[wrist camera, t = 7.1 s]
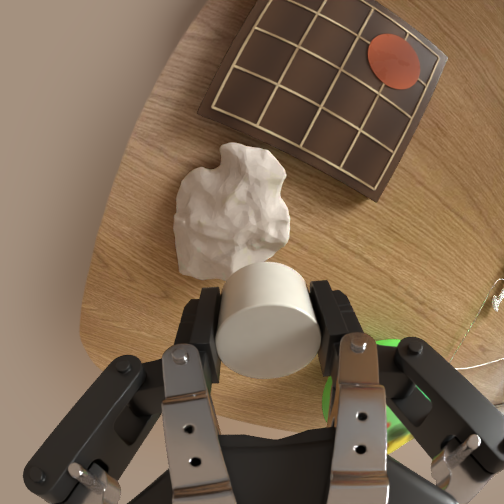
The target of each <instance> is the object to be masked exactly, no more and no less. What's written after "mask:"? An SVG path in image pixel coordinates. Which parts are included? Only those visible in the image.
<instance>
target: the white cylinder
mask: <svg viewBox="0 0 504 504" xmlns="http://www.w3.org/2000/svg"><path fill="white" fill-rule="evenodd" d="M321 339H322V335H321V330H320V326H319V323H318V320H317V316H316V313H315V310H314V306H313V303H312V300H311V296H310V293H309V290H308V287H307V284H306V282H305V281H304V279H303V278H302V277H301V275H300V274H299V273H297V272H296V271H295V270H293V269H292V268H290V267H288V266H286V265H283V264H280V263H276V262H257V263H253V264H249V265H247V266H244V267H242V268H240V269H239V270H237V271H236V272H234V273H233V274H232V275H231V276H230V277H229V278H228V279H227V281H226V282H225V284H224V286H223V288H222V291H221V296H220V303H219V311H218V318H217V325H216V333H215V343H216V348H217V353H218V356H219V358H220V360H221V361H222V362H223V363H224V364H225V365H226V366H227V367H228V368H230V369H231V370H233V371H234V372H236V373H238V374H241V375H244V376H247V377H251V378H257V379H272V378H279V377H284V376H287V375H290V374H293V373H295V372H297V371H299V370H301V369H302V368H304V367H305V366H306V365H308V364H309V363H310V362H311V361H312V360H313V359H314V357H315V356H316V354H317V353H318V351H319V348H320V346H321Z"/></svg>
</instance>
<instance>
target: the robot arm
mask: <svg viewBox="0 0 504 504" xmlns="http://www.w3.org/2000/svg"><path fill="white" fill-rule="evenodd" d="M220 296H221V295H220V289H219V287H209V288H202V290H201V294H200V298H199V299H191V300H190V301H189V302H188V303H187V305H186V306H185V307H184V310H183V314H182V317H181V323H180V324H179V328H178V331H177V335H176V339H175V342H174V345H173V346H171V347H169V348H168V349H167V350H166V351H165V352H164V354H163V356H162V358H161V359H159V360H155V361H151V362H146V363H141V361H140V360H139V358H137V357H135V356H133V355H123V356H120V357H118V358H116V359H114V360H113V361H112V362H111V363H110V364H109V365H108V367H107V368H106V369H105V370H104V371H103V372H102V373H101V375H100V376H99V377H98V378H97V380H96V381H95V382H94V383H93V384H92V385H91V386H90V388H89V389H88V390H87V391H86V392H85V393H84V395H83V396H82V397H81V398H80V399H79V400H78V402H77V403H76V404H75V405H74V407H73V408H72V409H71V410H70V411H69V412H68V414H67V415H66V416H65V417H64V418H63V420H62V421H61V422H60V423H59V425H58V426H57V427H56V428H55V429H54V431H53V432H52V433H51V434H50V436H49V437H48V438H47V439H46V441H45V442H44V443H43V445H42V446H41V447H40V448H39V449H38V451H37V452H36V453H35V454H34V456H33V457H32V458H31V460H30V461H29V462H28V463H27V465H26V466H25V468H24V472H23V478H24V483H25V485H26V487H27V488H28V489H29V490H30V491H31V492H33V493H34V494H36V495H37V496H39V497H41V498H42V499H44V500H45V501H46V502H48V503H50V504H118V501H119V500H120V495H121V487H120V485H119V483H118V480H119V478H120V477H121V475H122V474H123V472H124V471H125V469H126V468H127V466H128V464H129V463H130V461H131V460H132V458H133V457H134V455H135V454H136V452H137V451H138V449H139V448H140V446H141V445H142V443H143V441H144V440H145V438H146V437H147V435H148V434H149V432H150V431H151V429H152V428H153V426H154V424H155V423H156V421H157V420H158V418H159V417H160V415H161V413H162V416H163V427H164V435H165V443H166V451H167V458H168V464H169V469H168V470H166V471H165V472H164V473H163V474H162V475H161V476H160V477H159V478H157V479H156V480H155V481H154V482H153V483H152V484H151V485H149V486H148V487H147V488H146V489H145V490H143V491H142V492H141V493H140V494H138V495H137V496H136V497H135V498H134V499H132V500H131V501H130V502H129V503H127V504H467V503H469V502H470V501H471V500H472V499H473V497H475V495H476V494H477V493H478V492H479V491H480V490H481V489H482V488H483V487H484V486H485V485H486V484H487V483H488V481H489V480H490V479H491V478H492V477H494V476H495V475H496V474H498V473H499V472H501V471H502V470H503V469H504V415H503V414H502V413H501V412H500V411H499V410H498V409H497V408H496V407H495V406H494V405H493V404H492V403H491V402H490V401H489V400H488V399H487V398H486V397H485V396H483V395H482V394H481V393H480V392H479V391H478V390H477V389H476V388H475V387H474V386H473V385H472V384H471V383H470V382H469V381H468V380H467V379H466V378H465V377H464V376H463V375H461V374H460V373H459V372H458V371H457V370H456V369H455V368H454V367H453V366H452V365H451V364H450V363H448V362H447V361H446V360H445V359H444V358H443V357H442V356H441V355H440V354H439V353H437V352H436V351H435V350H434V349H433V348H432V347H431V346H430V345H429V344H427V343H426V342H425V341H424V340H422V339H420V338H417V337H407V338H404V339H402V340H401V341H400V342H399V343H398V346H397V347H395V346H384V345H379V344H376V342H375V340H374V339H373V338H372V337H371V336H370V335H368V334H365V333H364V332H363V330H362V328H361V325H360V323H359V321H358V319H357V317H356V315H355V312H353V308H352V306H351V305H350V302H349V300H348V298H347V296H346V295H345V294H343V293H342V292H341V291H340V290H335V291H332V289H331V287H330V285H329V282H328V281H327V280H322V281H311V282H310V296H311V300H312V303H313V306H314V310H315V313H316V316H317V320H318V323H319V326H320V330H321V335H322V339H321V346H320V348H319V351H318V357H319V361H320V365H321V369H322V373H323V377H324V376H331V378H332V385H331V392H330V402H329V411H328V420H327V427H326V428H319V429H312V430H307V431H304V432H301V433H298V434H295V435H292V436H289V437H285V438H282V439H278V440H273V439H266V438H260V437H254V436H249V435H221V432H220V428H219V425H218V421H217V417H216V413H215V409H214V405H213V401H212V397H211V386H212V383H219V376H220V365H221V360H220V358H219V356H218V353H217V348H216V343H215V333H216V325H217V318H218V311H219V303H220ZM416 386H417V387H418V388H419V389H420V390H421V391H422V392H423V393H424V394H425V395H426V396H427V397H428V398H429V399H428V398H427V397H426V396H425V395H424V394H423V393H422V392H421V391H420V390H419V389H418V388H417V387H416ZM386 405H387V406H388V407H389V408H390V410H391V411H392V412H393V413H394V414H395V416H396V417H397V418H398V419H399V420H400V421H401V423H402V424H403V425H404V426H405V427H406V429H407V430H408V431H409V432H410V433H411V435H412V436H413V437H414V438H415V439H416V441H417V442H418V443H419V444H420V445H421V447H422V448H423V449H424V450H425V451H426V453H427V454H428V455H429V456H430V457H431V458H432V463H431V471H432V473H431V475H432V478H433V479H435V480H436V485H434V484H433V483H431V482H429V481H428V480H426V479H425V478H423V477H421V476H420V475H418V474H417V473H415V472H413V471H412V470H410V469H409V468H407V467H406V466H404V465H403V464H401V463H400V462H398V461H397V460H395V459H394V458H392V457H391V456H389V455H388V454H387V412H386Z"/></svg>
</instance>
